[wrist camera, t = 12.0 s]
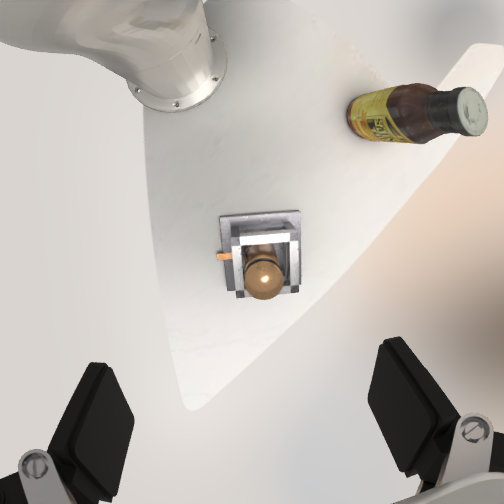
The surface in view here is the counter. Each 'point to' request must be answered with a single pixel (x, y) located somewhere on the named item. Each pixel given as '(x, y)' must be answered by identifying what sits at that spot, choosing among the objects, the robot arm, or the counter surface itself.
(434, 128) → the sauce bottle
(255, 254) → the copper tube
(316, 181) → the counter surface
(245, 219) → the collar stand
